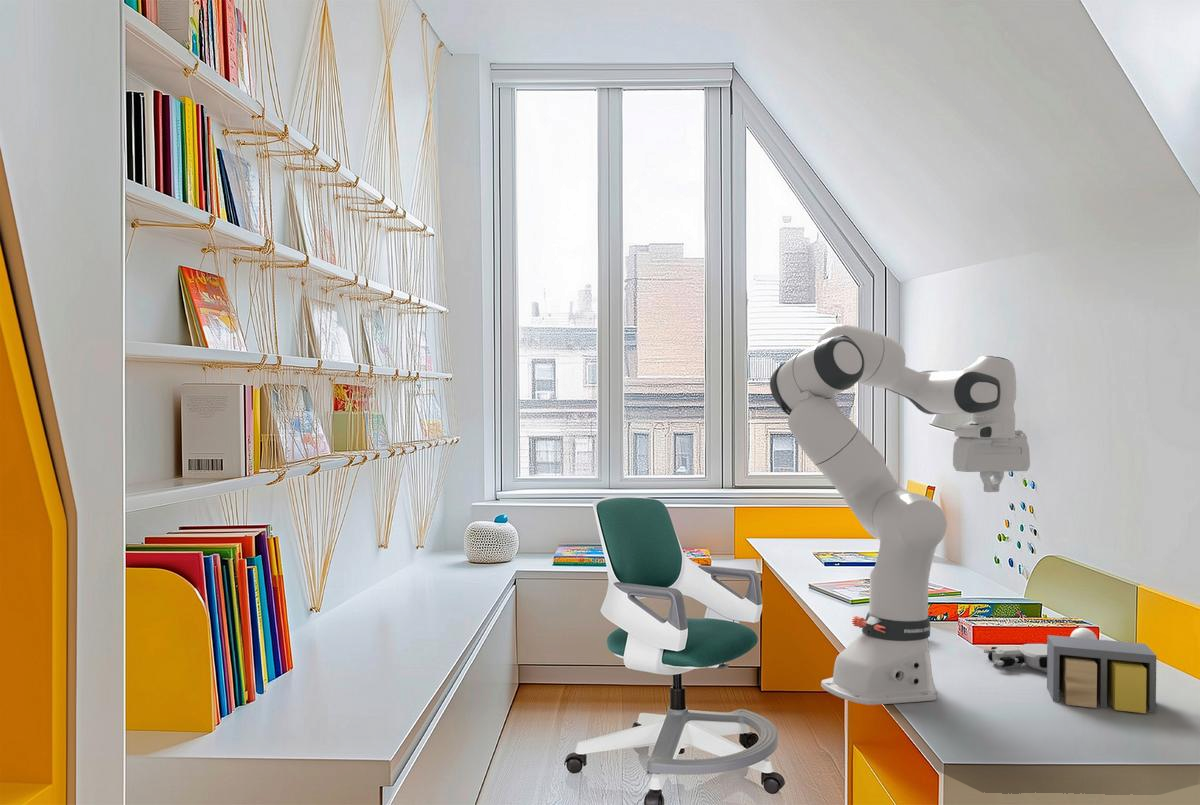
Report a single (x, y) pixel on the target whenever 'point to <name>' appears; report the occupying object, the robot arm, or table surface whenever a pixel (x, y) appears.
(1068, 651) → the grey slotted holder
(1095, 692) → the light wood block
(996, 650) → the robot toy
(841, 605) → the table surface
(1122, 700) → the yellow rectangular block
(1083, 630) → the white egg
